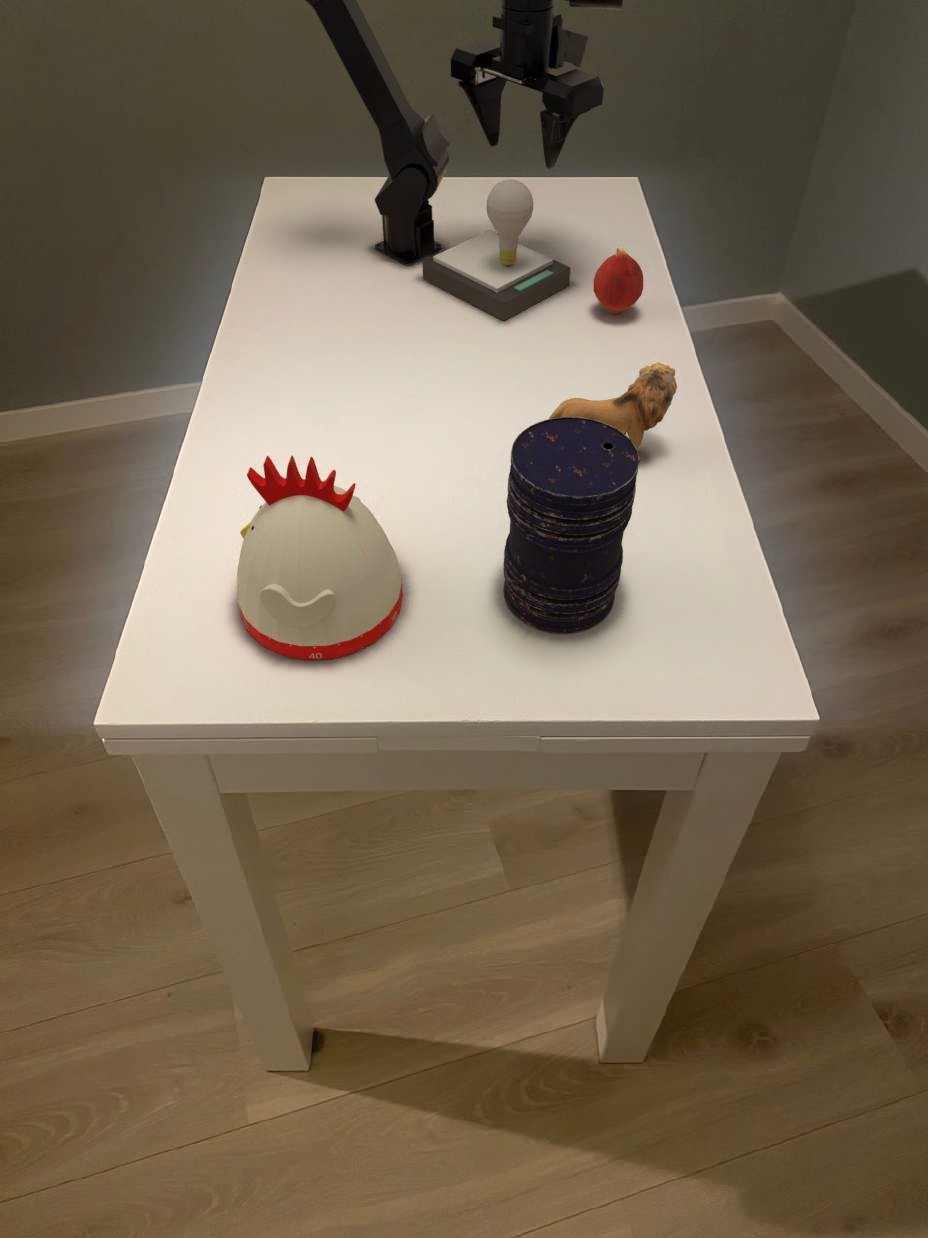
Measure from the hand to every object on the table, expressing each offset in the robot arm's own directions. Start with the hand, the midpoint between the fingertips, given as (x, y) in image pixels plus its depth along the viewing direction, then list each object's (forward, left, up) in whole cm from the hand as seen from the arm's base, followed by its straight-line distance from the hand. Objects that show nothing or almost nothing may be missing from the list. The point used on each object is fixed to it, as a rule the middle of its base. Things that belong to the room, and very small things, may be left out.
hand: (521, 155), depth 111 cm
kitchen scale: (+2, -6, -13) cm, 15 cm away
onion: (+17, -1, -13) cm, 22 cm away
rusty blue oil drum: (+43, -41, -13) cm, 61 cm away
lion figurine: (+33, -23, -13) cm, 42 cm away
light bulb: (+4, -6, -10) cm, 12 cm away
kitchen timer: (+29, -56, -13) cm, 64 cm away
